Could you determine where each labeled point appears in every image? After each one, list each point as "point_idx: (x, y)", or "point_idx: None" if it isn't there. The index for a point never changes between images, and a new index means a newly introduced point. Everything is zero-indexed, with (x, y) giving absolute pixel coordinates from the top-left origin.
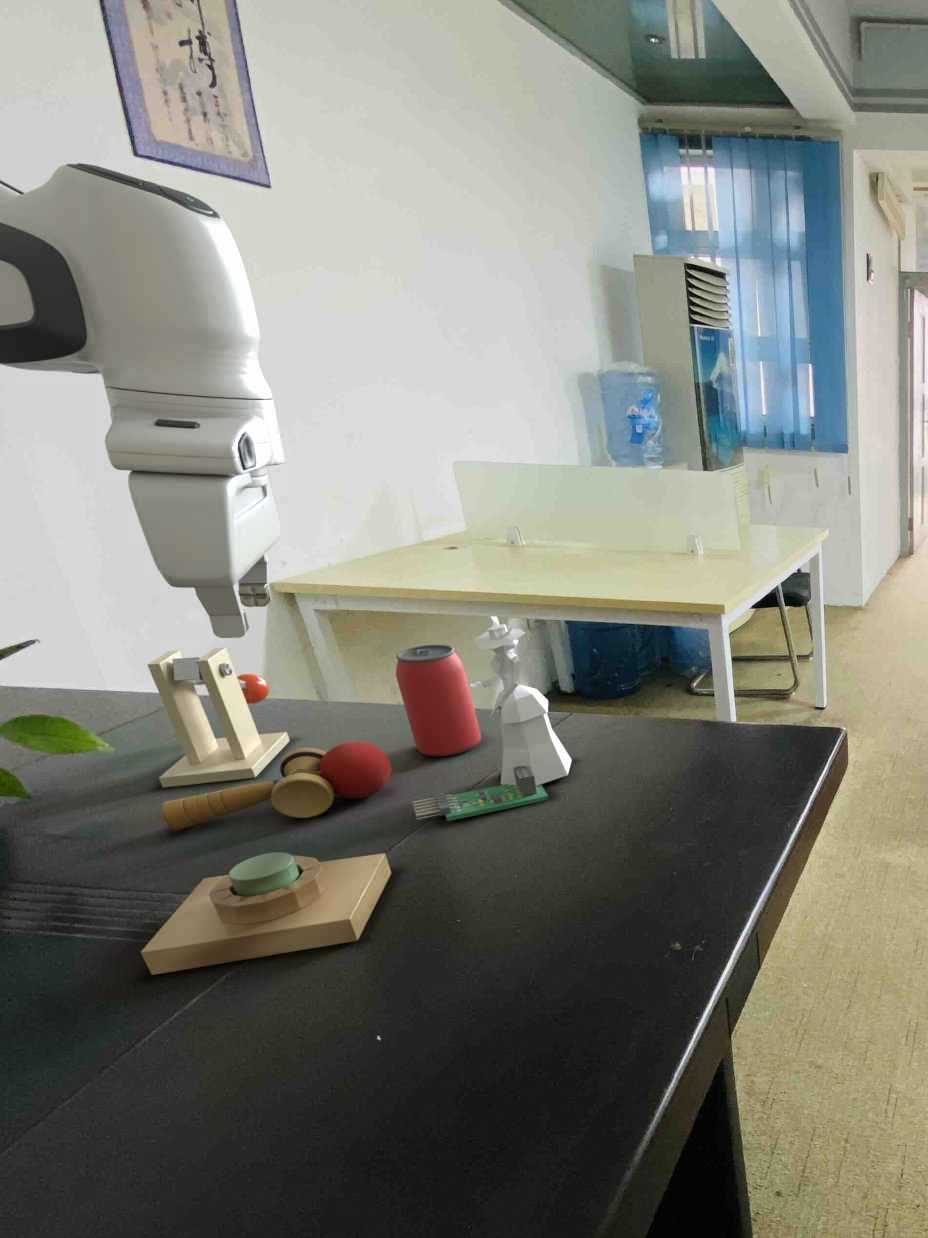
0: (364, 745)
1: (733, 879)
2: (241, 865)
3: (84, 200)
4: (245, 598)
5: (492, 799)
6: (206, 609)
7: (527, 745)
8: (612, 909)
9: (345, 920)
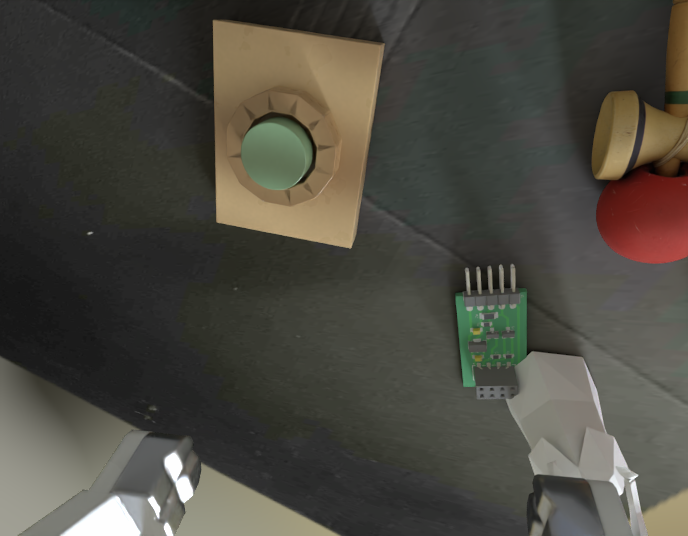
0: (663, 253)
1: (228, 458)
2: (281, 134)
3: None
4: (541, 507)
5: (483, 340)
6: (56, 510)
7: (521, 424)
8: (213, 386)
9: (216, 218)
